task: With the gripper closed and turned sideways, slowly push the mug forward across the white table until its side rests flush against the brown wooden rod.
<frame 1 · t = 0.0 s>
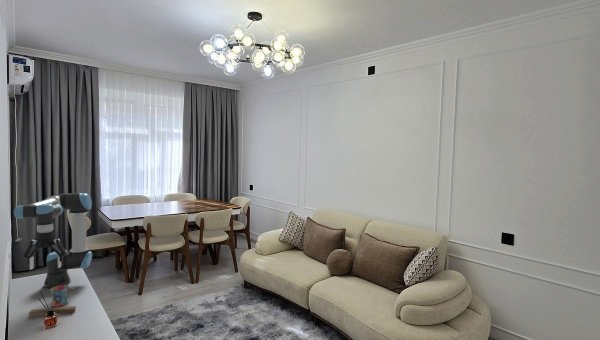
hand: (45, 267, 188), 28 cm above the table, fingers open, 13 cm apart
mug: (62, 304, 203), on the table
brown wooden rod: (52, 314, 191), on the table
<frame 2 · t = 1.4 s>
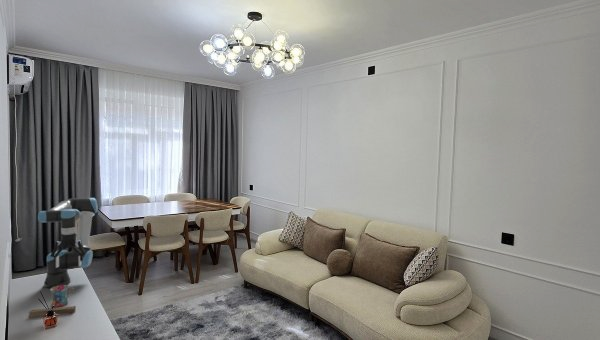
hand: (68, 266, 212), 20 cm above the table, fingers open, 12 cm apart
nothing on the table moved.
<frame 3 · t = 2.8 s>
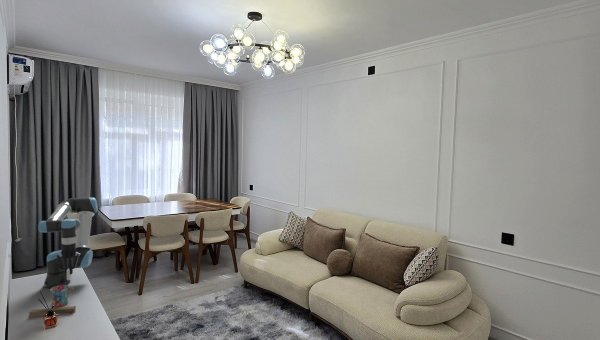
hand: (68, 279, 213), 12 cm above the table, fingers closed
nothing on the table moved.
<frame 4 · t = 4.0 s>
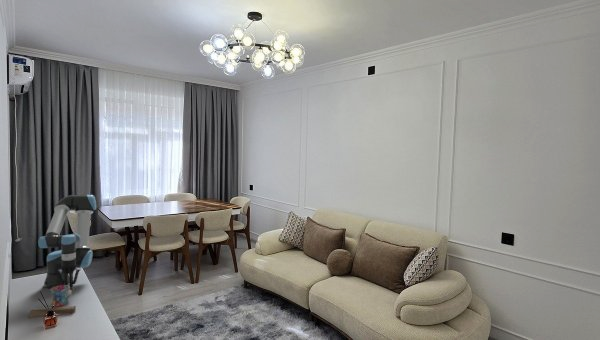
hand: (69, 294, 213), 1 cm above the table, fingers closed
nothing on the table moved.
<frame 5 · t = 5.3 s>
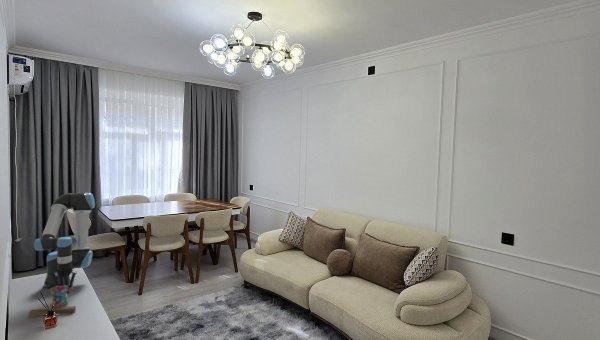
hand: (65, 298, 207), 2 cm above the table, fingers closed
mug: (62, 304, 203), on the table, touching gripper, hand
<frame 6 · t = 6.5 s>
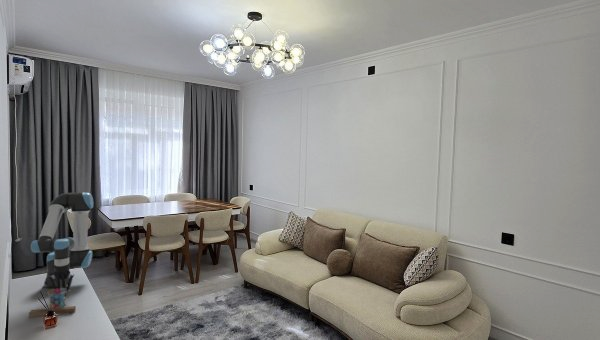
hand: (62, 301, 204), 1 cm above the table, fingers closed
mug: (60, 307, 199), on the table, touching gripper, hand
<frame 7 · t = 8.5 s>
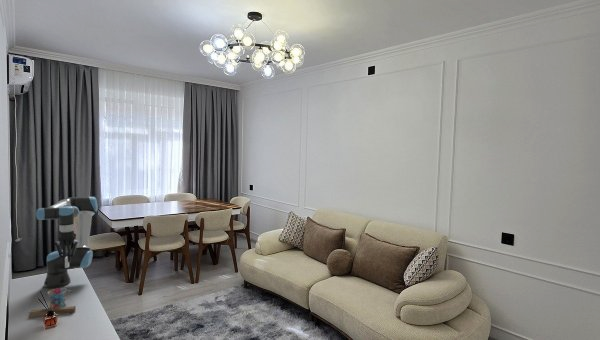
hand: (67, 267, 210), 20 cm above the table, fingers closed
mug: (60, 307, 199), on the table
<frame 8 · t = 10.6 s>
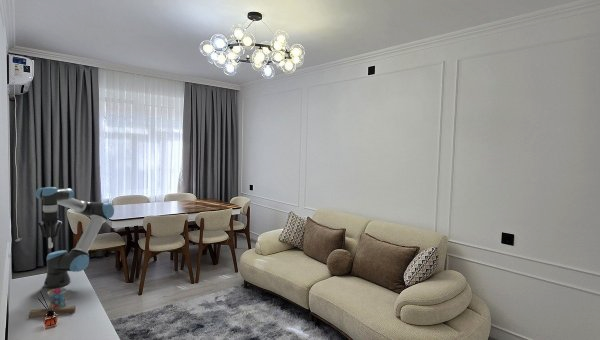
hand: (50, 247, 211), 32 cm above the table, fingers closed
nothing on the table moved.
at the end: mug inside the target area on the table beside the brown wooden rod (2.5 cm from its centre), on the table; mug tilted 0° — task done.
